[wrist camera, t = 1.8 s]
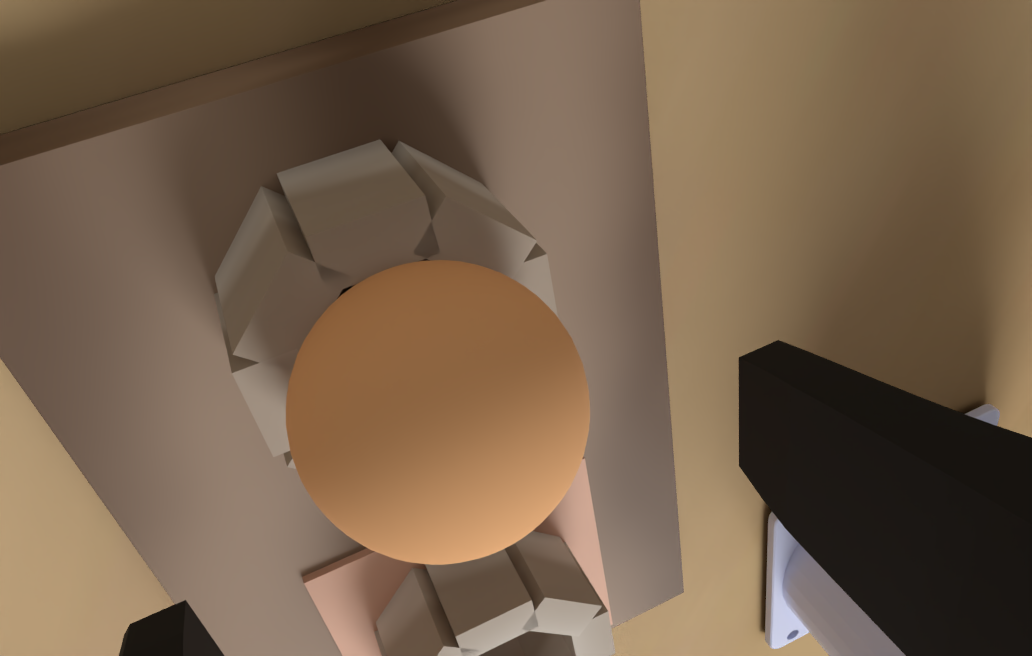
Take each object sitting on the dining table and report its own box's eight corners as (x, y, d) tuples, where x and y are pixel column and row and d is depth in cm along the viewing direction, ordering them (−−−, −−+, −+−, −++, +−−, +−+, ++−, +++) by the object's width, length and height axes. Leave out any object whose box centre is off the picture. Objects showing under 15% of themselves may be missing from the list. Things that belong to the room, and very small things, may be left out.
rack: (597, -42, 15) (722, 1, 12) (658, 556, 26) (732, 659, 23) (-93, 162, 13) (-155, 281, 10) (292, 734, 23) (321, 878, 20)
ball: (494, 175, 13) (633, 310, 10) (537, 382, 16) (657, 546, 12) (220, 269, 12) (265, 457, 9) (313, 474, 15) (377, 681, 11)
